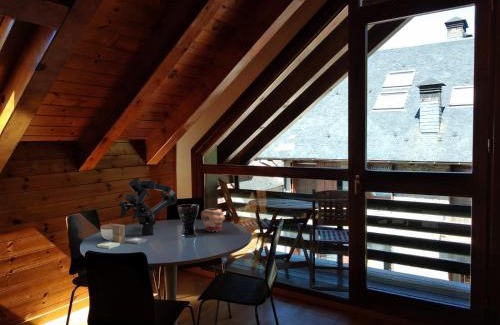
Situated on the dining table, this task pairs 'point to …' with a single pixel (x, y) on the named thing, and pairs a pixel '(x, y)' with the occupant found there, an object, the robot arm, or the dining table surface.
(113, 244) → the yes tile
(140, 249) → the dining table surface
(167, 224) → the dining table surface
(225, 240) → the dining table surface
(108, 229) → the lidded jar
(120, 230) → the walnut block
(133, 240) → the tile
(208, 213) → the decorative planter
